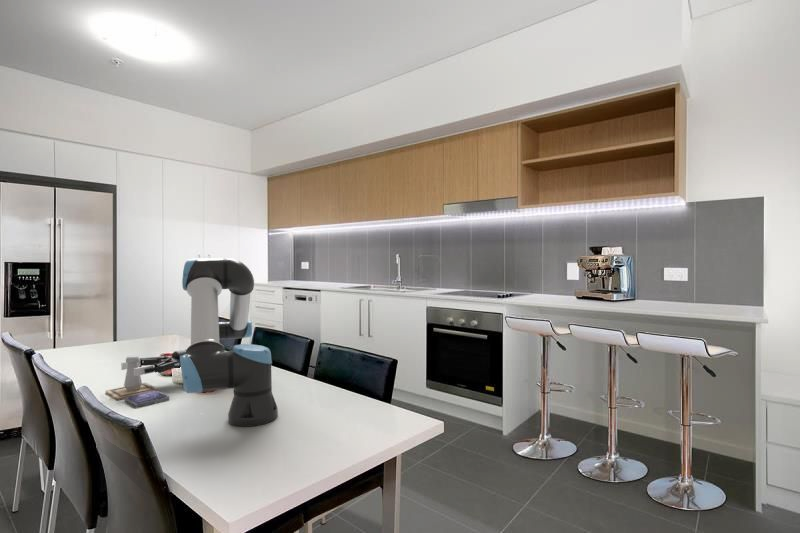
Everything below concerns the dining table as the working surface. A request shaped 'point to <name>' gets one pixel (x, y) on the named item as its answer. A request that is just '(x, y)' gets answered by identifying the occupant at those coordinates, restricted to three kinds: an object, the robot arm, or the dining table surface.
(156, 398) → the ink pad
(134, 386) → the salt shaker
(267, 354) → the robot arm
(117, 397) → the marked board
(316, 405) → the dining table surface
